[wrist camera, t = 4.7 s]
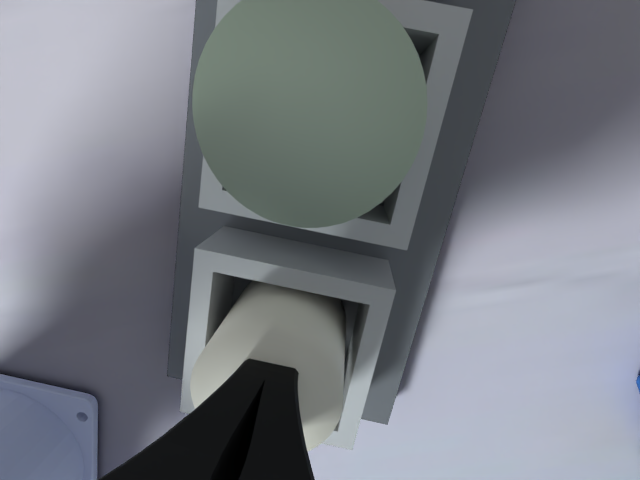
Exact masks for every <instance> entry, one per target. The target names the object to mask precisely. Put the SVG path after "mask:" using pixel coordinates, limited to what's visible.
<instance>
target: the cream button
mask: <svg viewBox="0 0 640 480" xmlns="http://www.w3.org/2000/svg"><path fill="white" fill-rule="evenodd" d="M345 338H346V315H345V310H344V307H343V304H342V302H341V300H340V298H335V297H330V296H325V295H321V294H316V293H311V292H306V291H302V290H297V289H292V288H288V287H283V286H278V285H273V284H269V283H264V282H259V281H254V280H253V281H252V282H251V283H250V284H249V285H248V286H247V287H246V288H245V290H244V291H243V292H242V294H241V295H240V297H239V298H238V300H237V301H236V303H235V304H234V305H233V307H232V308H231V310H230V311H229V313H228V314H227V316H226V317H225V319H224V320H223V322H222V323H221V325H220V326H219V328H218V329H217V330H216V332H215V333H214V335H213V336H212V338H211V339H210V341H209V342H208V344H207V345H206V347H205V348H204V350H203V351H202V353H201V354H200V355H199V357H198V359H197V361H196V363H195V365H194V367H193V370H192V374H191V380H190V391H191V398H192V401H193V405H194V407H195V409H196V408H197V407H198V406H199V405H200V404H201V403H203V402H204V401H205V400H206V399H207V398H208V397H209V396H210V395H211V394H212V393H214V392H215V391H216V390H217V389H218V388H219V387H220V386H221V385H222V384H223V383H224V382H225V381H226V380H227V379H228V378H229V377H230V376H231V375H232V374H233V373H234V372H235V371H236V370H237V369H238V368H239V367H240V365H241V364H242V363H243V362H244V361H245V360H247V359H249V358H250V359H254V360H259V361H264V362H268V363H273V364H277V365H282V366H287V367H292V368H296V370H297V371H298V373H299V375H298V398H299V408H300V416H301V422H302V427H303V433H304V438H305V443H306V448H307V452H308V451H310V450H312V449H314V448H315V447H317V446H318V445H320V444H321V443H323V442H324V441H325V440H326V439H327V438H328V437H329V436H330V435H331V433H332V432H333V431H334V429H335V427H336V426H337V424H338V422H339V419H340V416H341V413H342V407H343V387H344V363H345Z"/></svg>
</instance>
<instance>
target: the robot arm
mask: <svg viewBox="0 0 640 480" xmlns="http://www.w3.org/2000/svg"><path fill="white" fill-rule="evenodd" d="M298 375H299V373H298V371H297V370H296V368H292V367H287V366H282V365H277V364H273V363H268V362H264V361H259V360H254V359H250V358H249V359H247V360H245V361H244V362H243V363H242V364H241V365H240V367H239V368H238V369H237V370H236V371H235V372H234V373H233V374H232V375H231V376H230V377H229V378H228V379H227V380H226V381H225V382H224V383H223V384H222V385H221V386H220V387H219V388H218V389H217V390H216V391H215V392H214V393H212V394H211V395H210V396H209V397H208V398H207V399H206V400H205V401H204V402H203V403H201V404H200V405H199V406H198V407H197V408H196V409H195V410H194V411H192V412H191V413H190V414H189V415H187V416H186V417H185V418H184V419H183V420H181V421H180V422H179V423H178V424H176V425H175V426H174V427H173V428H171V429H170V430H169V431H168V432H167V433H165V434H164V435H163V436H161V437H160V438H159V439H157V440H156V441H155V442H153V443H152V444H151V445H149V446H148V447H146V448H145V449H144V450H142V451H141V452H139V453H138V454H137V455H135V456H134V457H132V458H131V459H129V460H128V461H126V462H125V463H124V464H122V465H121V466H119V467H117V468H116V469H114V470H113V471H111V472H110V473H108V474H106V475H105V476H103V477H102V478H100V479H99V480H315V479H314V476H313V472H312V468H311V464H310V460H309V456H308V452H307V448H306V443H305V438H304V433H303V427H302V422H301V416H300V408H299V398H298ZM97 449H98V402H97V400H96V398H95V397H94V396H92V395H90V394H88V393H83V392H79V391H74V390H70V389H65V388H61V387H56V386H52V385H47V384H43V383H38V382H34V381H29V380H25V379H20V378H16V377H12V376H7V375H3V374H0V480H97Z"/></svg>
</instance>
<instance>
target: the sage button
mask: <svg viewBox="0 0 640 480" xmlns="http://www.w3.org/2000/svg"><path fill="white" fill-rule="evenodd" d="M192 110H193V120H194V126H195V131H196V135H197V139H198V142H199V145H200V148H201V151H202V154H203V156H204V158H205V160H206V162H207V164H208V166H209V168H210V169H211V171H212V172H213V174H214V175H215V177H216V178H217V180H218V181H219V182H220V184H221V185H222V186H223V187H224V188H225V190H226V191H227V192H228V193H229V194H230V195H231V196H232V197H234V198H235V199H236V200H237V201H238V202H239V203H241V204H242V205H243V206H245V207H246V208H247V209H249V210H250V211H252V212H254V213H256V214H257V215H259V216H261V217H263V218H266V219H268V220H271V221H273V222H276V223H280V224H283V225H287V226H293V227H300V228H320V227H328V226H333V225H337V224H341V223H345V222H347V221H350V220H353V219H355V218H358V217H359V216H361V215H363V214H365V213H367V212H369V211H370V210H372V209H373V208H375V207H376V206H377V205H379V204H380V203H381V202H383V201H384V200H385V199H386V198H387V197H388V196H389V195H390V194H391V193H392V192H393V191H394V190H395V189H396V188H397V186H398V185H399V184H400V183H401V182H402V180H403V179H404V177H405V176H406V174H407V173H408V171H409V170H410V168H411V166H412V164H413V162H414V160H415V158H416V156H417V154H418V151H419V148H420V145H421V142H422V139H423V135H424V130H425V125H426V119H427V87H426V81H425V76H424V71H423V67H422V64H421V61H420V58H419V55H418V53H417V51H416V49H415V46H414V44H413V42H412V40H411V38H410V37H409V35H408V34H407V32H406V31H405V29H404V28H403V26H402V25H401V23H400V22H399V21H398V20H397V19H396V18H395V16H394V15H393V14H392V13H391V12H390V11H389V10H388V9H387V8H386V7H385V6H383V5H382V4H381V3H380V2H379V1H378V0H241V1H240V2H239V3H237V4H236V5H235V6H234V7H233V8H232V9H231V10H230V11H229V12H228V13H227V14H226V15H225V16H224V17H223V18H222V20H221V21H220V22H219V23H218V25H217V26H216V27H215V29H214V30H213V32H212V34H211V35H210V37H209V39H208V41H207V42H206V44H205V46H204V49H203V51H202V54H201V56H200V58H199V62H198V65H197V69H196V73H195V77H194V85H193V93H192Z"/></svg>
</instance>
